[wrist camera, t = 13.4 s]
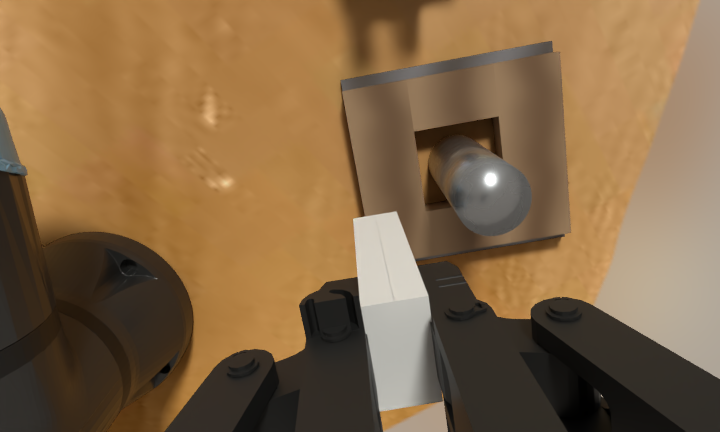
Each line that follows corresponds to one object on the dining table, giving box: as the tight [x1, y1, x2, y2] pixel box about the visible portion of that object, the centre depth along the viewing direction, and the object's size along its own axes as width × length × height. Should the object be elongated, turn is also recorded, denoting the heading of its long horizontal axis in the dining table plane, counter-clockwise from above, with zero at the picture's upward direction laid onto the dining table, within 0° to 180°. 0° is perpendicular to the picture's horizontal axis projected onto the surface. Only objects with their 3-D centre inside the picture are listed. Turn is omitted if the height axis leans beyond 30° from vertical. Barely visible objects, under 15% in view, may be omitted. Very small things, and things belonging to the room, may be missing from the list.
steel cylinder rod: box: [428, 135, 532, 236], centre depth 35 cm, size 4×4×12 cm
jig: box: [341, 41, 571, 261], centre depth 39 cm, size 16×16×2 cm
